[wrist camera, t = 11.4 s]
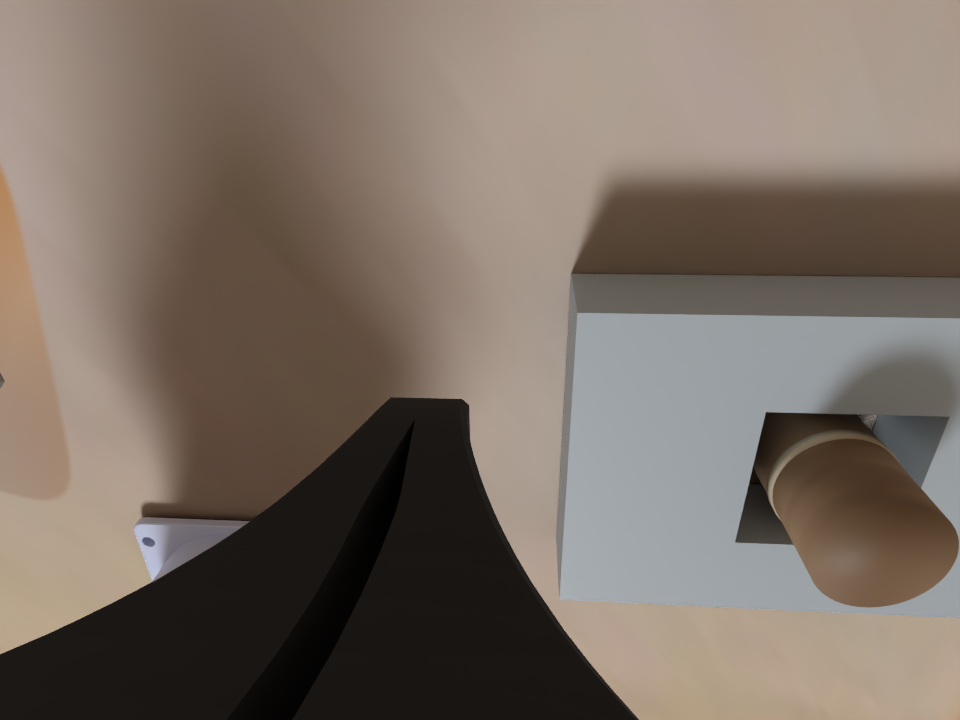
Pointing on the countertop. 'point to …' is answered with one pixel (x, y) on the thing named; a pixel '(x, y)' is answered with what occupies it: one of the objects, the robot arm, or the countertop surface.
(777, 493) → the walnut peg
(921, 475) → the grey board
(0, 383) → the stone block
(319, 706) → the robot arm
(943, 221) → the countertop surface
